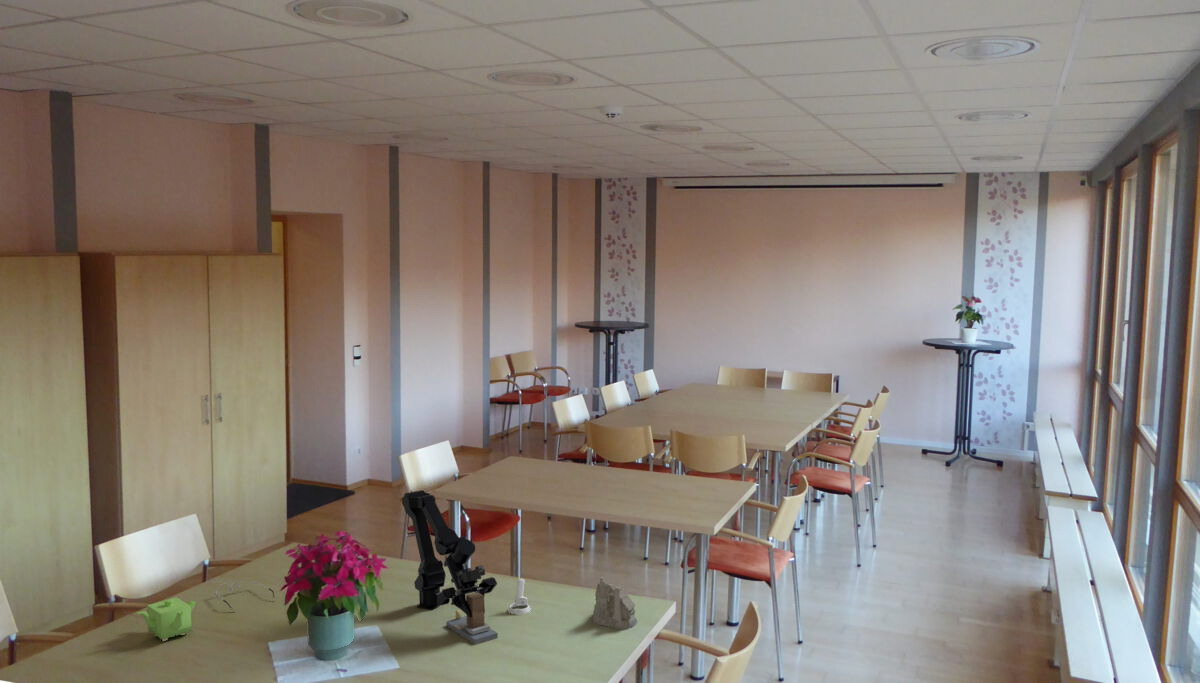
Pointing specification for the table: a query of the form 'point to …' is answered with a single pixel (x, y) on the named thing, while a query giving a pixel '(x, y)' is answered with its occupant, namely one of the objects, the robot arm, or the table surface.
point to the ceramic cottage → (613, 607)
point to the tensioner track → (457, 627)
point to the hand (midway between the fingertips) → (477, 615)
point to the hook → (519, 600)
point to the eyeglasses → (239, 588)
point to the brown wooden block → (475, 614)
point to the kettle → (169, 617)
